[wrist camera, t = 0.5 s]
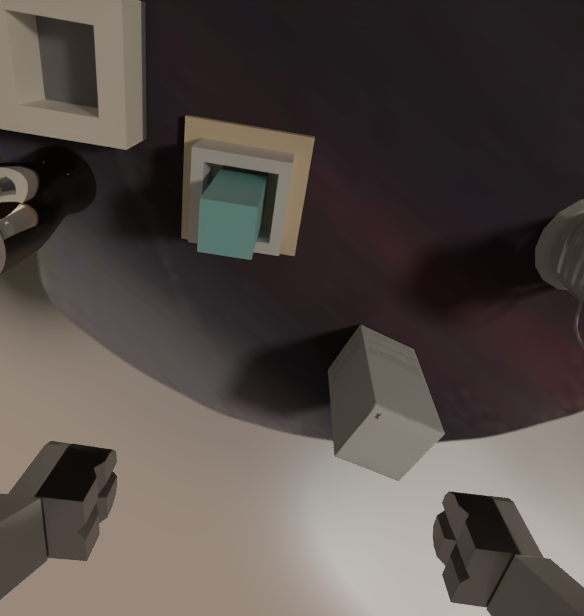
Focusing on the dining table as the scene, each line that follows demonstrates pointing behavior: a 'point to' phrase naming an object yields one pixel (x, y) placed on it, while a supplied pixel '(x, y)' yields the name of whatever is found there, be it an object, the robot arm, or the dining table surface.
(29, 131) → the port block
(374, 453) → the supplement box
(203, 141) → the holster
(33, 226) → the beer glass
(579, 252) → the french press
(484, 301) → the dining table surface
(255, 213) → the plug
